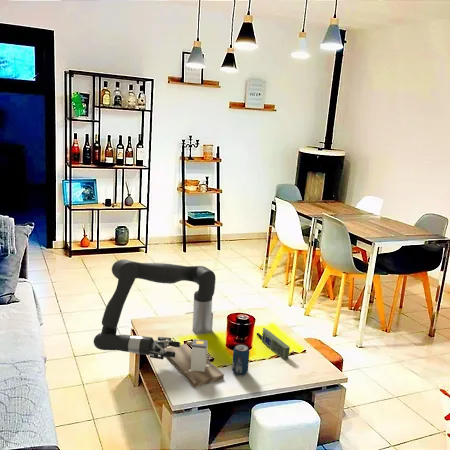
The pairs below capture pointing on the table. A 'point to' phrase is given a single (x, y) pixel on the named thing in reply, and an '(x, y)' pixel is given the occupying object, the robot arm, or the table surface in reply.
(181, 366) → the subfloor panel
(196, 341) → the white tall block
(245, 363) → the soda can
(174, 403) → the table surface
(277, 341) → the handheld radio
